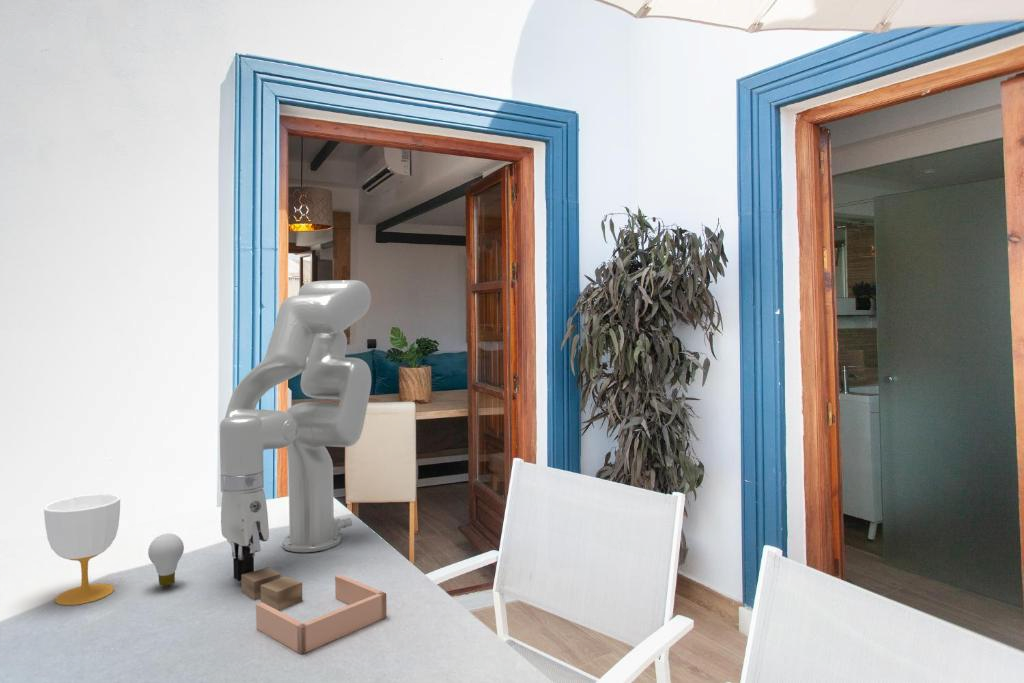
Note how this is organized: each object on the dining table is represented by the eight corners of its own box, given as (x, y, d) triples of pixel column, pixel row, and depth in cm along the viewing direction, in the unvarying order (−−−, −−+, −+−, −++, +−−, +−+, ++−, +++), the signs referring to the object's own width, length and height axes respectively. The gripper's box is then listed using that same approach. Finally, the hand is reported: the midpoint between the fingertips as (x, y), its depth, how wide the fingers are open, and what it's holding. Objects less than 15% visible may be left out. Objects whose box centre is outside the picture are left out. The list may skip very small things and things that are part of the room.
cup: (131, 593, 119) (129, 501, 119) (54, 615, 111) (52, 515, 110) (111, 577, 127) (109, 490, 127) (38, 595, 119) (36, 502, 118)
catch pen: (340, 596, 117) (339, 574, 117) (386, 616, 109) (386, 593, 109) (256, 628, 105) (256, 604, 105) (301, 654, 97) (301, 627, 97)
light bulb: (169, 594, 119) (168, 540, 119) (141, 592, 120) (140, 538, 120) (191, 582, 125) (190, 530, 124) (164, 579, 126) (163, 528, 125)
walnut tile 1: (267, 585, 123) (267, 567, 123) (280, 592, 120) (280, 573, 120) (241, 593, 120) (241, 574, 119) (254, 601, 116) (253, 581, 116)
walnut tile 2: (285, 595, 119) (285, 576, 119) (302, 602, 116) (302, 582, 116) (260, 604, 115) (260, 585, 115) (277, 612, 112) (277, 591, 112)
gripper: (281, 483, 121) (283, 582, 121) (242, 472, 131) (243, 563, 131) (242, 491, 115) (244, 594, 116) (204, 479, 125) (206, 574, 125)
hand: (243, 577), depth 123 cm, fingers closed
